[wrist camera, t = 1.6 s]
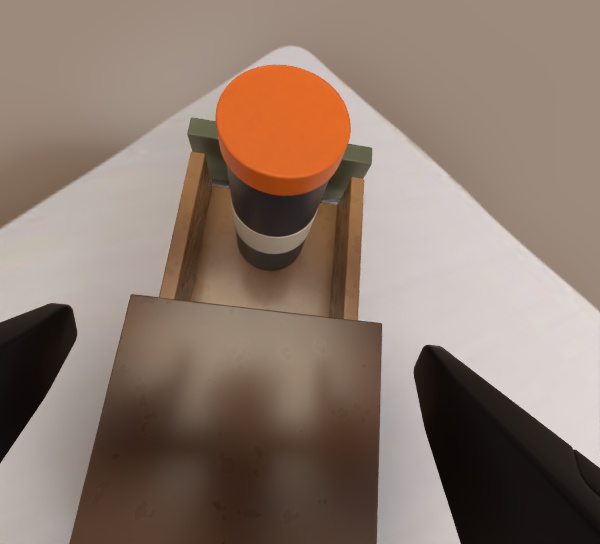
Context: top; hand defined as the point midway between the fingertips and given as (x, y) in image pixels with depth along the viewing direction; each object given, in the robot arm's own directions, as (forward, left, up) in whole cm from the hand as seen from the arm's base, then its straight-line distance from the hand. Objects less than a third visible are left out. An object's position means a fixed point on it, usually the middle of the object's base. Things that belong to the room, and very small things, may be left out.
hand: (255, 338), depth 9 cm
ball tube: (+5, -5, -11) cm, 14 cm away
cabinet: (-3, +3, -13) cm, 14 cm away
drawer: (+6, -6, -12) cm, 15 cm away
